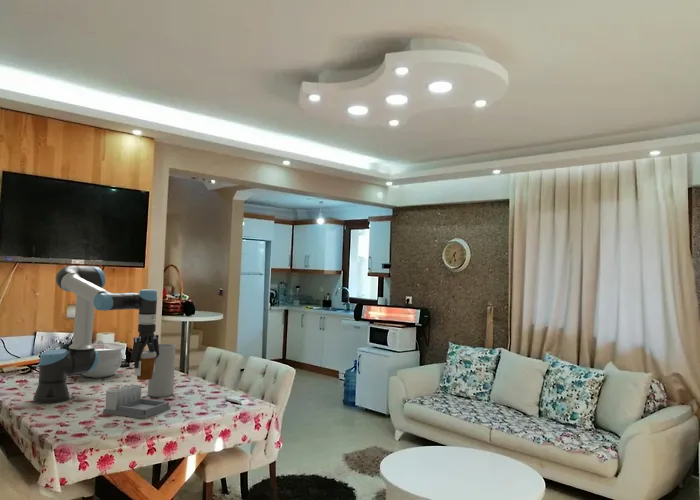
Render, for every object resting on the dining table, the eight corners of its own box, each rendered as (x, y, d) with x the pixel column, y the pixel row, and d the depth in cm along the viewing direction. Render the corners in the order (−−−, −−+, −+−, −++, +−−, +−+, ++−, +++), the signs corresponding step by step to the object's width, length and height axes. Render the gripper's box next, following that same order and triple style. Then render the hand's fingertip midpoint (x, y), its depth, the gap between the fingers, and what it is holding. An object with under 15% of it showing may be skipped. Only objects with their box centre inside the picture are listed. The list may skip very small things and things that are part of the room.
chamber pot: (111, 381, 305) (113, 344, 306) (63, 379, 306) (65, 342, 306) (132, 371, 333) (133, 338, 334) (87, 370, 334) (89, 336, 334)
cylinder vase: (143, 394, 278) (145, 345, 279) (165, 390, 287) (167, 343, 288) (154, 398, 269) (157, 348, 270) (177, 395, 278) (180, 346, 279)
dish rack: (170, 409, 250) (171, 388, 251) (142, 418, 233) (143, 396, 234) (132, 403, 258) (133, 383, 258) (103, 412, 241) (104, 391, 242)
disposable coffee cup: (148, 381, 240) (149, 354, 240) (128, 380, 241) (130, 353, 242) (159, 377, 249) (160, 351, 249) (141, 376, 251) (142, 350, 251)
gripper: (136, 326, 235) (134, 378, 234) (169, 322, 255) (167, 370, 254) (123, 324, 237) (120, 376, 237) (156, 321, 257) (154, 369, 256)
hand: (144, 373), depth 245 cm, fingers closed on disposable coffee cup, 8 cm apart
